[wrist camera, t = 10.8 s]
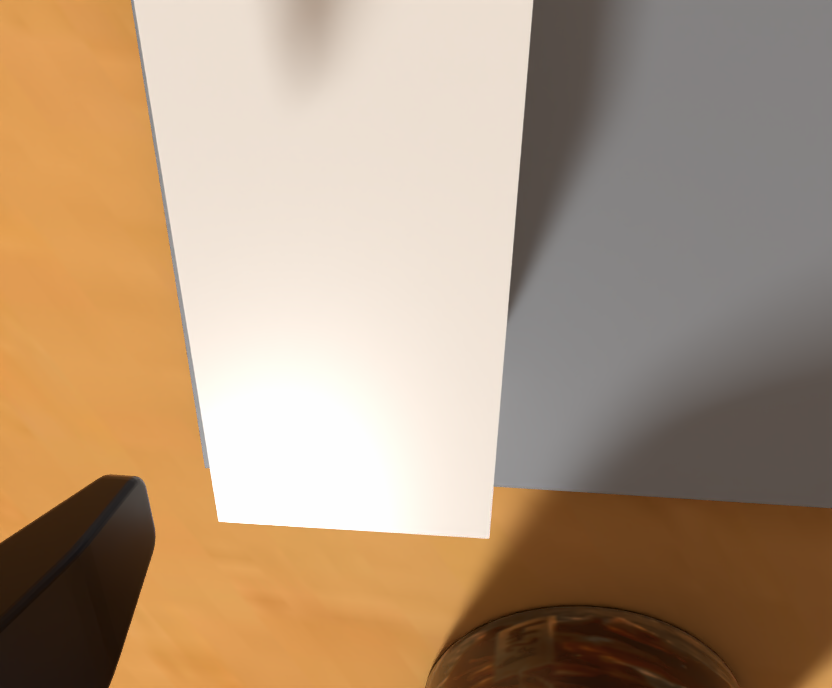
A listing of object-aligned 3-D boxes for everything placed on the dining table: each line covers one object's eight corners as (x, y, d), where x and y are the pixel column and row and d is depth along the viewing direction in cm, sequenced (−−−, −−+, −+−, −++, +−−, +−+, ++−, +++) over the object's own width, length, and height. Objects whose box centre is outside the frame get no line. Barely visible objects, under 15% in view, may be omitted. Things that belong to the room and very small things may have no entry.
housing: (521, -108, 14) (539, -88, 9) (488, 360, 19) (489, 538, 14) (247, -112, 15) (118, -95, 9) (287, 350, 20) (218, 521, 15)
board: (1382, -374, 13) (1482, -400, 11) (959, 480, 22) (988, 518, 21) (105, -380, 14) (66, -404, 13) (220, 434, 23) (205, 467, 22)
